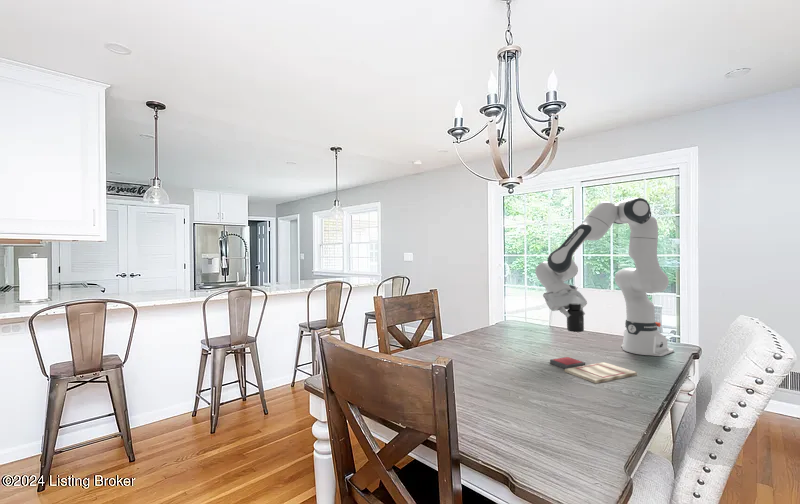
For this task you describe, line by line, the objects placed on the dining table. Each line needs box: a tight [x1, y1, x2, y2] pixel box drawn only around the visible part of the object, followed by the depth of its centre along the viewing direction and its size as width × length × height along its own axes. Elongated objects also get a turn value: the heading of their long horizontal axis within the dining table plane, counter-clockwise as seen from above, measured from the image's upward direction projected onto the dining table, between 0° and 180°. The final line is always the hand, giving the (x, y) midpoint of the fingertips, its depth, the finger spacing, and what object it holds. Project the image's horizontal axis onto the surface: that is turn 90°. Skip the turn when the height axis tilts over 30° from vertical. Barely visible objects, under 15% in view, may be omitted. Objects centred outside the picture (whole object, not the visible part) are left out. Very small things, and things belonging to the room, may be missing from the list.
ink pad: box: [549, 356, 586, 370], centre depth 154 cm, size 10×9×2 cm
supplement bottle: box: [566, 303, 585, 333], centre depth 164 cm, size 7×7×12 cm
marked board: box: [564, 361, 638, 384], centre depth 143 cm, size 22×14×1 cm, turn 113°
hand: (576, 315), depth 163 cm, fingers closed on supplement bottle, 7 cm apart
